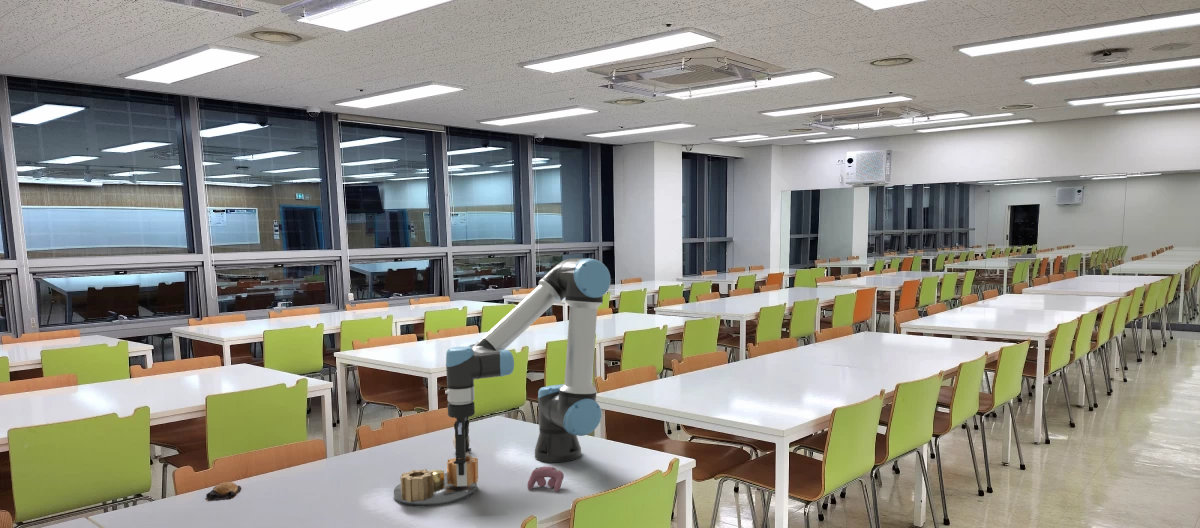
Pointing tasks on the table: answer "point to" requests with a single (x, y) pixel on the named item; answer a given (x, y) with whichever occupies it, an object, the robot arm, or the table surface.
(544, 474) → the video game controller
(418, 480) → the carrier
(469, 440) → the egg
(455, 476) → the planet gear
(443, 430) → the table surface
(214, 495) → the brown and black mound
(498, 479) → the table surface
